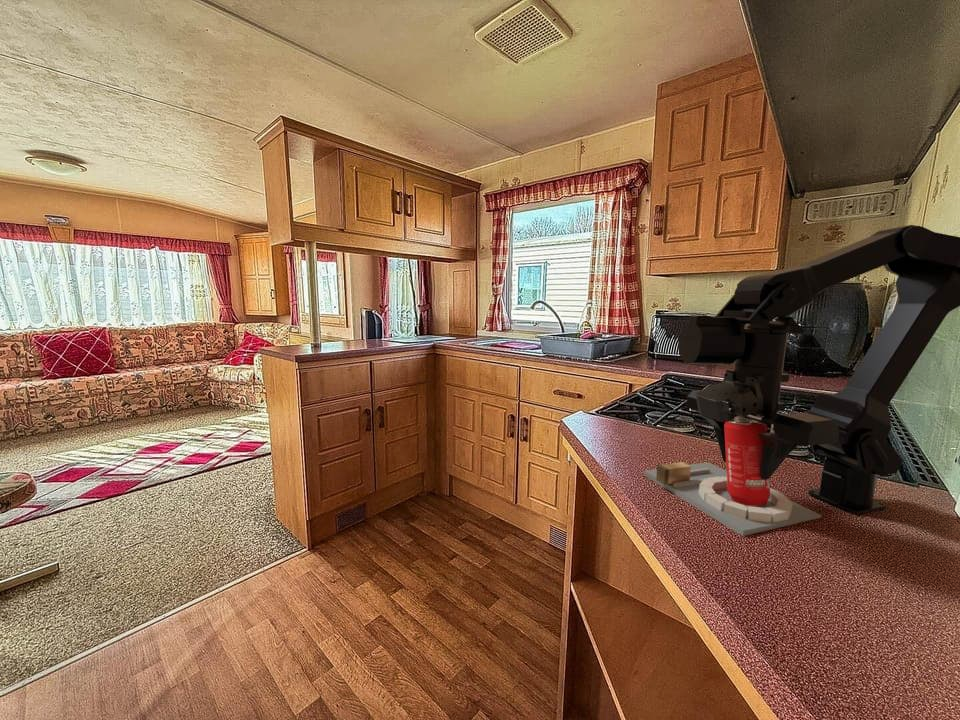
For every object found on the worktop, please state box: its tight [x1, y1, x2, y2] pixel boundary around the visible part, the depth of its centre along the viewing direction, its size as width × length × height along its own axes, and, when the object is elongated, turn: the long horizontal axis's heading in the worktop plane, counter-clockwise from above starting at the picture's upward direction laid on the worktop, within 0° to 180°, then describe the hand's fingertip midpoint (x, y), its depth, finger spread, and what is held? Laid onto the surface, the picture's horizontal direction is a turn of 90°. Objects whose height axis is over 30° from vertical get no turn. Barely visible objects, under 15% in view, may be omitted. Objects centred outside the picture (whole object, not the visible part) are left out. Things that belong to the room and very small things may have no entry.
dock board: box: [643, 461, 822, 537], centre depth 62 cm, size 14×19×2 cm
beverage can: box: [724, 417, 771, 507], centre depth 58 cm, size 5×5×12 cm
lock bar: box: [656, 461, 691, 485], centre depth 64 cm, size 5×2×2 cm, turn 106°
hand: (744, 470), depth 58 cm, fingers closed on beverage can, 6 cm apart
